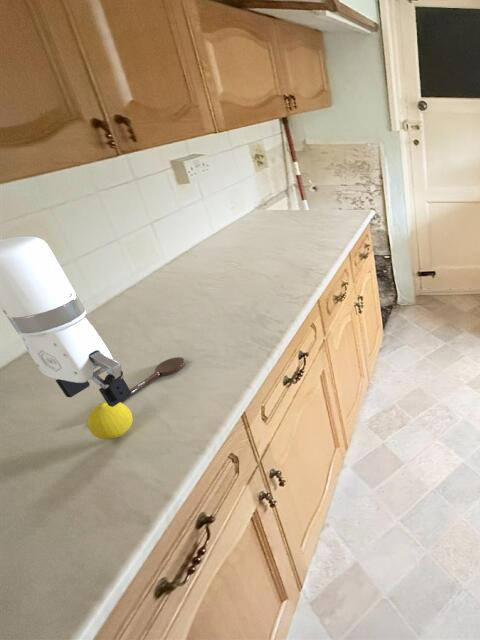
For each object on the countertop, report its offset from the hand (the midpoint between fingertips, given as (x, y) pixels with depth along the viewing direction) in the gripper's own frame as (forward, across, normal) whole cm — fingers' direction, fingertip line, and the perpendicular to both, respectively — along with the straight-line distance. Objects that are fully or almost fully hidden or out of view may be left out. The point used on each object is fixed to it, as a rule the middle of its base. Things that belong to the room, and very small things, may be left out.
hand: (99, 395), depth 69 cm
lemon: (+10, 0, 0) cm, 10 cm away
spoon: (+10, -10, +11) cm, 17 cm away
